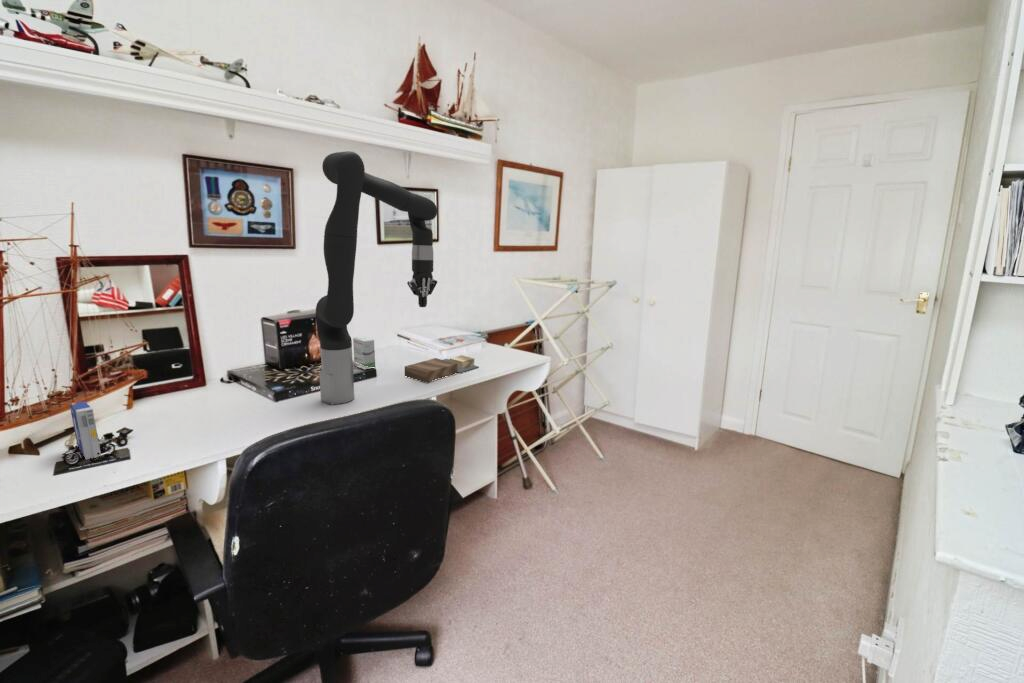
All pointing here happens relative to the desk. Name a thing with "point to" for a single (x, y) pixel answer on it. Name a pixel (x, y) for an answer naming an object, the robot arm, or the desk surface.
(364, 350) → the ink box
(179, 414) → the desk surface
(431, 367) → the walnut stand
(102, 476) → the desk surface
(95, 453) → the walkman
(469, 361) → the maple block
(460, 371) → the charcoal mat
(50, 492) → the desk surface
